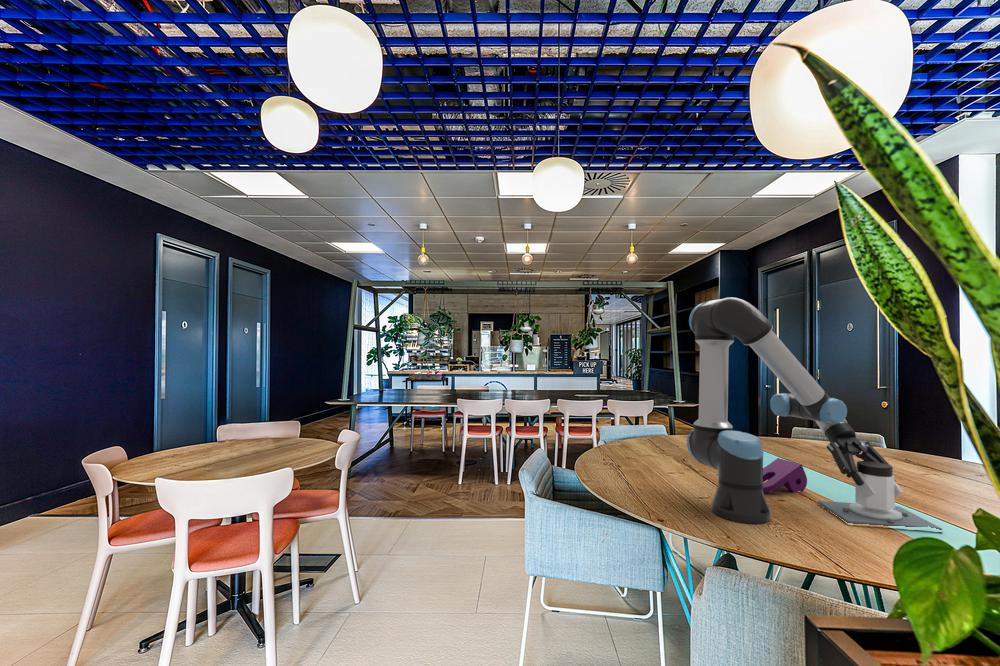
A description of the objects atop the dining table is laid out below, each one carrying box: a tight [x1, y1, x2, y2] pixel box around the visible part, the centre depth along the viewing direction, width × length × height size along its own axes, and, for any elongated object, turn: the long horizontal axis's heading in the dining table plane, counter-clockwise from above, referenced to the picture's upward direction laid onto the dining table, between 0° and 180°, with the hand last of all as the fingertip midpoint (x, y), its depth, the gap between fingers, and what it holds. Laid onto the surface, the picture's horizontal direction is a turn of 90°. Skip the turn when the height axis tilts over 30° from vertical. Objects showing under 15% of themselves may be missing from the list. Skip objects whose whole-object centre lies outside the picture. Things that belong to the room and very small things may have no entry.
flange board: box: [817, 500, 943, 531], centre depth 133 cm, size 22×18×2 cm
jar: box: [854, 460, 896, 511], centre depth 133 cm, size 9×8×12 cm
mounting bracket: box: [763, 457, 808, 494], centre depth 160 cm, size 9×8×18 cm
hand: (885, 494), depth 130 cm, fingers closed on jar, 8 cm apart
